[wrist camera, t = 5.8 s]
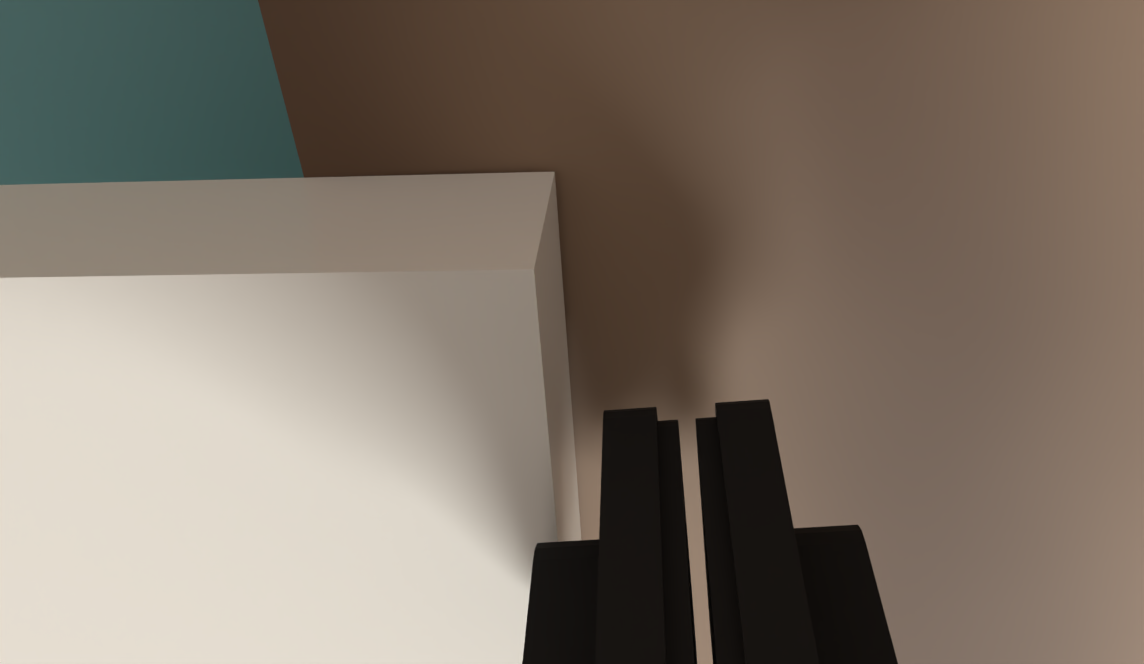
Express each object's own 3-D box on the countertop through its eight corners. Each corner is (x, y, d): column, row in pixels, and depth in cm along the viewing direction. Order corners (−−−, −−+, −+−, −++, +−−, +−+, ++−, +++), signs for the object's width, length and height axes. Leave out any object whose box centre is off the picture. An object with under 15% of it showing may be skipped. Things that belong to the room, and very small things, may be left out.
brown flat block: (1569, -522, 11) (1996, -598, 7) (1234, 620, 19) (1364, 829, 16) (296, -351, 12) (167, -348, 9) (504, 650, 20) (479, 849, 17)
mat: (228, -454, 12) (217, -458, 11) (486, 687, 21) (483, 704, 21) (-760, -311, 13) (-798, -310, 12) (-96, 709, 22) (-107, 726, 22)
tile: (554, 171, 11) (533, 270, 9) (586, 602, 14) (574, 733, 12) (-194, 189, 12) (-342, 282, 10) (-5, 595, 15) (-90, 718, 13)
